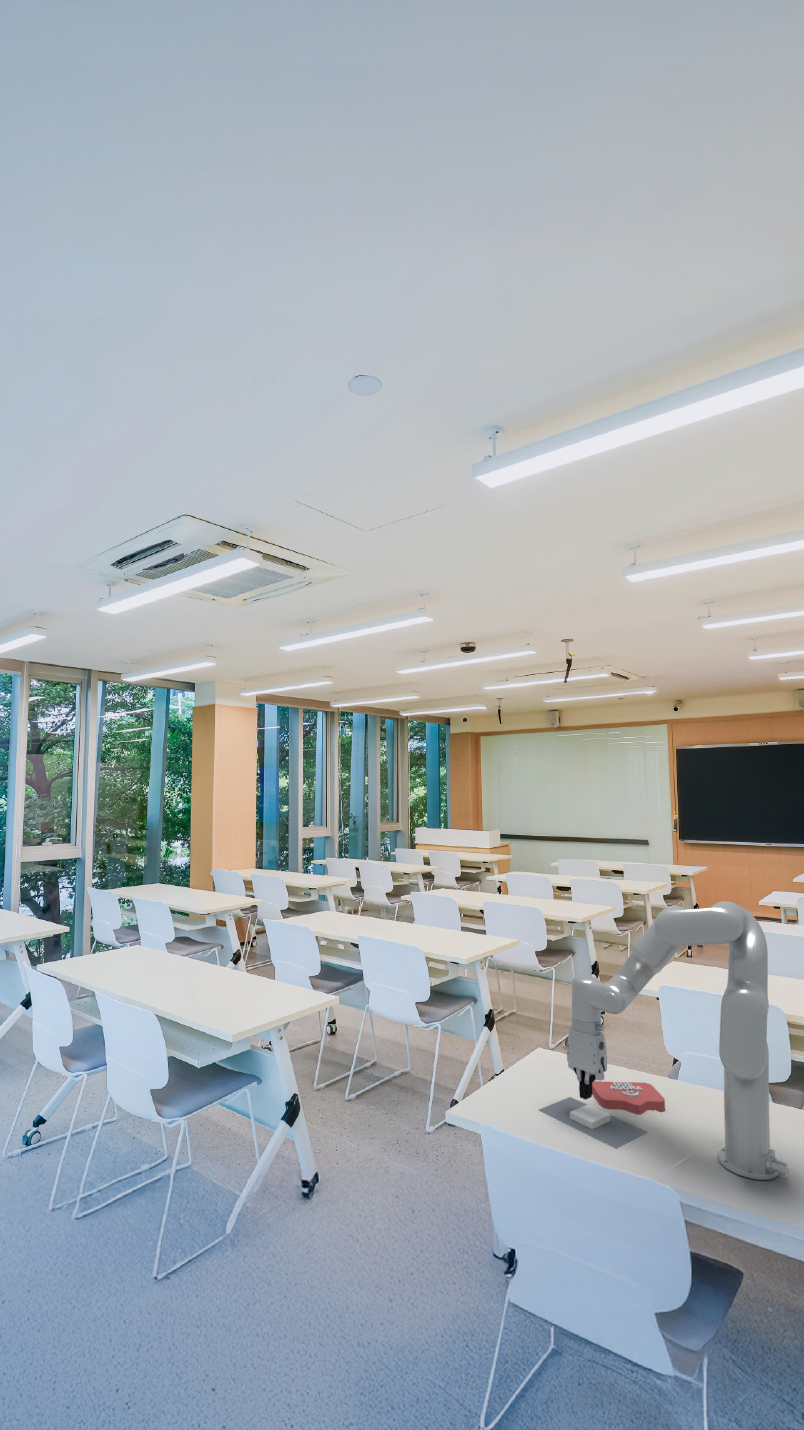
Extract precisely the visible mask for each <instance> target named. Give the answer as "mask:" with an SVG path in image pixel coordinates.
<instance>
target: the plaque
mask: <svg viewBox="0 0 804 1430" xmlns="http://www.w3.org/2000/svg"><path fill="white" fill-rule="evenodd" d="M592 1097H594V1099H595V1100H596V1101H597V1104H599V1106H600V1107H602V1108H604V1109H607V1110H623V1111H627V1112H629V1113H632V1114H634V1115H642V1114H643V1113H645V1112H647V1111H656V1112H659V1113H663V1112H665V1111H666V1104H665V1101H666V1099H665V1097H664V1096H662V1094H661V1093H660V1092H659V1091H658V1090H657V1089H656V1088H655V1087H654V1085H653V1084H651V1083H647V1082H641V1081H640V1082H633V1081H603V1080H601V1081H600V1080H595V1081H594V1082H592Z"/></svg>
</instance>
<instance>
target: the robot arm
mask: <svg viewBox="0 0 804 1430" xmlns="http://www.w3.org/2000/svg"><path fill="white" fill-rule="evenodd" d="M726 944H728V962H727V963H728V969H727V970H728V971H727V973H728V974H727V982H726V983H727V984H726V988H725V990H724V993H723V995H722V997H721V1002H720V1003H721V1004H720V1017H719V1018H720V1019H719V1020H720V1021H719V1042H718V1043H719V1046H718V1055H719V1059H720V1062H721V1064H722V1066H723V1109H724V1111H723V1112H724V1113H723V1114H724V1116H723V1117H724V1118H723V1119H724V1120H723V1121H724V1147H722V1148H720V1149H719V1150H718V1152H717V1159H718V1161H719V1164H721V1165H722V1166H723V1167H724V1168H725V1169H727V1170H728V1171H730V1172H731V1173H734V1174H736V1175H738V1176H741V1177H744V1178H747V1179H751V1180H759V1181H769V1180H773V1179H775V1178H777V1176H779V1175H781V1176H784V1177H786V1178H787V1177H789V1174H790V1168H789V1167H788V1163H787V1162H785V1161H782V1160H779V1159H777V1157H776V1152H775V1149H772V1148H771V1135H770V1134H771V1132H770V1131H771V1130H770V1129H771V1128H770V1084H769V1083H770V1081H769V1080H770V1079H769V1078H770V1076H769V1075H770V1074H769V1072H770V1070H769V1066H770V1063H769V1061H770V1057H769V1056H770V1054H769V1053H770V1052H769V1044H768V1042H767V1040H768V1039H767V1035H768V1034H767V1033H768V1014H769V1006H770V1005H769V1004H770V1003H769V992H768V990H769V989H768V981H769V979H768V978H769V976H768V975H769V973H768V972H769V970H768V968H769V966H768V965H769V964H768V963H769V960H768V957H769V955H768V944H767V940H766V935H765V933H764V931H763V927H762V926H761V925H760V923H759V922H758V920H757V919H756V917H754V915H753V914H752V913H750V912H749V911H748V910H747V909H745V908H744V907H742V906H741V905H739V904H737V903H735V902H732V901H724V900H723V901H718V902H716V903H714V904H713V905H712V906H710V907H703V908H691V909H690V908H689V909H686V908H685V907H682V906H680V905H670V906H667V907H665V908H664V909H663V910H661V911H660V912H659V913H658V914H657V915H656V916H655V919H654V921H653V922H652V923H651V925H650V926H649V927H648V928H647V930H646V931H645V932H644V933H643V934H642V935H641V936H640V938H639V939H638V940H637V941H636V942H635V944H634V945H633V946H632V949H631V953H630V955H629V956H628V958H627V959H626V960H625V962H624V963H622V965H621V966H620V968H619V969H618V970H617V971H616V972H615V974H614V975H613V976H612V977H610V979H609V980H607V981H606V982H601V981H600V979H598V978H597V977H595V976H592V975H588V974H580V975H579V974H578V975H575V976H574V977H573V978H572V982H571V1026H570V1027H569V1029H568V1036H567V1042H566V1043H567V1044H566V1062H567V1066H568V1068H569V1069H570V1070H572V1071H573V1072H574V1073H575V1075H576V1079H577V1081H578V1083H579V1084H578V1091H579V1098H580V1099H583V1100H588V1099H591V1098H592V1097H593V1094H592V1082H594V1081H603V1080H605V1077H606V1076H605V1072H607V1071H608V1055H607V1053H608V1052H607V1045H606V1044H607V1043H606V1039H605V1034H604V1033H603V1032H604V1031H605V1026H604V1025H603V1024H602V1012H604V1013H607V1014H611V1015H619V1014H622V1013H623V1012H624V1011H626V1009H627V1008H628V1007H629V1005H630V1004H631V1003H632V1002H633V1001H634V1000H635V999H636V998H637V996H638V995H639V994H640V993H641V992H642V990H643V989H644V988H645V987H646V985H647V984H648V983H650V981H651V980H652V979H653V978H654V976H656V975H657V974H659V973H660V972H661V971H662V970H663V968H664V967H665V966H666V965H667V964H668V963H669V962H670V961H671V960H672V958H674V956H675V955H676V954H677V952H679V950H680V949H681V948H682V947H683V946H687V947H688V946H692V947H693V946H712V945H713V946H715V945H726Z"/></svg>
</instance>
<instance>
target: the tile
mask: <svg viewBox="0 0 804 1430" xmlns="http://www.w3.org/2000/svg"><path fill="white" fill-rule="evenodd" d="M586 1104H587V1105H585V1106H583V1107H580V1108H578V1109H576V1110H573V1111H571V1112H570V1119H572V1120H574V1121H576V1122H578V1123H580V1124H582V1125H584V1126H586V1127H588V1128H590V1129H594V1128H597V1127H599V1126H601V1125H603V1124H605V1123H607V1122H609V1121H611V1116H612V1115H611V1113H609V1112H607V1111H604V1110H602V1109H601V1108H597V1107H595V1106H593V1105H590V1104H589V1103H586Z"/></svg>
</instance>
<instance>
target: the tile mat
mask: <svg viewBox="0 0 804 1430" xmlns="http://www.w3.org/2000/svg"><path fill="white" fill-rule="evenodd" d="M587 1104H588V1103H585V1102H582V1101H580V1100H578V1099H576V1098H574V1097H572V1096H569V1097H565V1098H564V1099H561V1100H558V1101H556V1102H554V1103H552V1104H549V1105H547V1106H545V1107H541V1108H539V1109H538V1111H539V1112H541V1113H543V1114H544V1115H547V1116H548V1117H551V1118H553V1119H555V1120H557V1121H559V1122H561V1123H563V1124H565V1125H567V1126H569V1127H571V1128H573V1129H575V1130H577V1131H578V1132H579V1131H580V1132H581V1133H583V1134H586V1135H588V1136H590V1137H592V1138H594V1139H596V1140H597V1141H599V1142H602V1144H603V1143H604V1144H605V1145H608V1146H610V1147H612V1148H614V1149H615V1150H617V1149H618V1148H621V1147H623V1146H624V1145H627V1144H628V1143H630V1142H632V1141H634V1140H636V1139H637V1138H640V1137H642V1136H644V1135H646V1134H647V1133H648V1131H647V1130H645V1129H642V1128H640V1127H638V1126H636V1125H633V1124H631V1123H629V1122H627V1121H626V1120H625V1121H624V1120H623V1119H620V1118H618V1117H615V1116H613V1115H611V1121H609V1122H607V1123H605V1124H603V1125H601V1126H599V1127H597V1128H594V1129H590V1128H588V1127H586V1126H584V1125H582V1124H580V1123H578V1122H576V1121H574V1120H572V1119H570V1112H571V1111H573V1110H576V1109H578V1108H580V1107H583V1106H585V1105H587Z"/></svg>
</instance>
